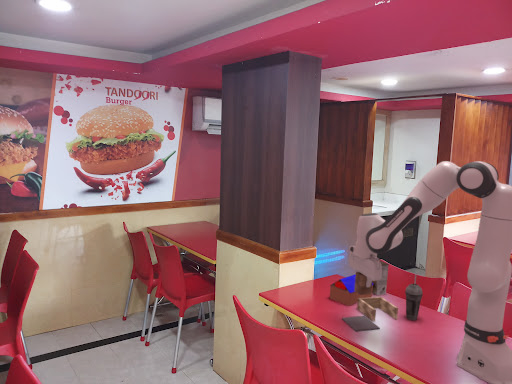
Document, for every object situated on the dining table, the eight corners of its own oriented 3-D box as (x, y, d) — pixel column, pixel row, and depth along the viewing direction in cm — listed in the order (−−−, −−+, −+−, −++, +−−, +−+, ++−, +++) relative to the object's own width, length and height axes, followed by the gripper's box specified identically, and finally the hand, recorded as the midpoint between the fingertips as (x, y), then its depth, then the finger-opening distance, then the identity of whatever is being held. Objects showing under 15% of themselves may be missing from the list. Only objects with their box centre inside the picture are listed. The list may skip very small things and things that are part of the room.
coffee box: (364, 289, 218) (367, 259, 216) (374, 288, 220) (376, 258, 218) (376, 295, 209) (379, 264, 207) (386, 294, 212) (389, 263, 210)
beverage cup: (401, 319, 182) (405, 275, 180) (404, 313, 189) (408, 270, 186) (419, 323, 179) (423, 278, 177) (421, 317, 185) (425, 273, 183)
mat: (379, 329, 171) (379, 327, 171) (356, 331, 168) (356, 330, 168) (364, 317, 183) (364, 315, 183) (341, 319, 180) (342, 317, 180)
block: (371, 294, 172) (372, 275, 171) (360, 294, 171) (362, 276, 170) (364, 289, 177) (366, 271, 176) (354, 290, 176) (355, 272, 175)
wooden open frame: (397, 318, 182) (398, 308, 182) (373, 321, 179) (373, 310, 178) (379, 306, 195) (380, 296, 195) (357, 308, 192) (357, 298, 191)
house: (372, 297, 208) (374, 274, 206) (349, 306, 194) (351, 282, 193) (352, 290, 217) (354, 268, 215) (328, 298, 203) (330, 275, 202)
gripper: (387, 258, 163) (384, 292, 164) (360, 245, 182) (357, 275, 184) (373, 259, 161) (370, 293, 163) (347, 245, 180) (344, 276, 182)
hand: (363, 284), depth 173 cm, fingers closed on block, 5 cm apart
